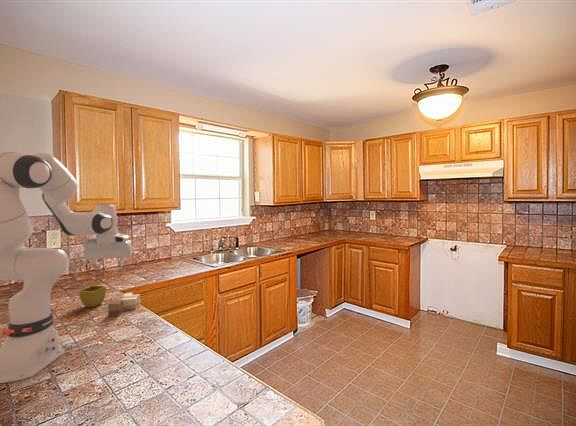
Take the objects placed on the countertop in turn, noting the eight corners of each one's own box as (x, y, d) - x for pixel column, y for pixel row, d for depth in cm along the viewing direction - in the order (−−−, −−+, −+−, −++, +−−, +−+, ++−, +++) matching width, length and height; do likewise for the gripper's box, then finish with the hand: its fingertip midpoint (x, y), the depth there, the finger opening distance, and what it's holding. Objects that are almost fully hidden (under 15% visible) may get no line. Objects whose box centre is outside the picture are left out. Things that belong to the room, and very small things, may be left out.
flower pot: (93, 309, 152) (92, 291, 152) (79, 308, 154) (77, 290, 153) (107, 302, 161) (106, 286, 160) (93, 301, 162) (92, 285, 162)
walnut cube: (120, 315, 144) (119, 303, 143) (108, 316, 143) (107, 304, 142) (123, 311, 149) (123, 299, 148) (112, 312, 148) (111, 300, 147)
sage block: (132, 302, 162) (132, 294, 161) (124, 303, 160) (123, 295, 160) (132, 299, 165) (132, 292, 165) (124, 301, 163) (123, 293, 163)
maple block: (136, 308, 153) (135, 298, 152) (121, 309, 151) (120, 299, 151) (140, 303, 159) (139, 294, 159) (126, 304, 158) (125, 295, 158)
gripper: (79, 240, 137) (82, 270, 139) (128, 238, 141) (130, 267, 143) (85, 238, 143) (88, 266, 145) (132, 235, 147) (134, 263, 149)
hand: (109, 267), depth 144 cm, fingers open, 8 cm apart
